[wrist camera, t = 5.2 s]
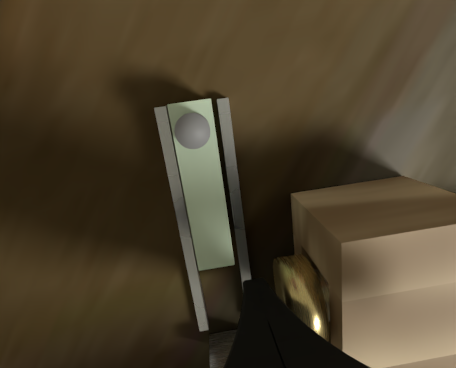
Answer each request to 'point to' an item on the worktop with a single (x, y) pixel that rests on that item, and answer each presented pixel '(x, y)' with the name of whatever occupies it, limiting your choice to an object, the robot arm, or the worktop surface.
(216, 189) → the keeper bolt
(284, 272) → the pin
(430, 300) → the block
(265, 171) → the worktop surface
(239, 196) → the keeper guide
